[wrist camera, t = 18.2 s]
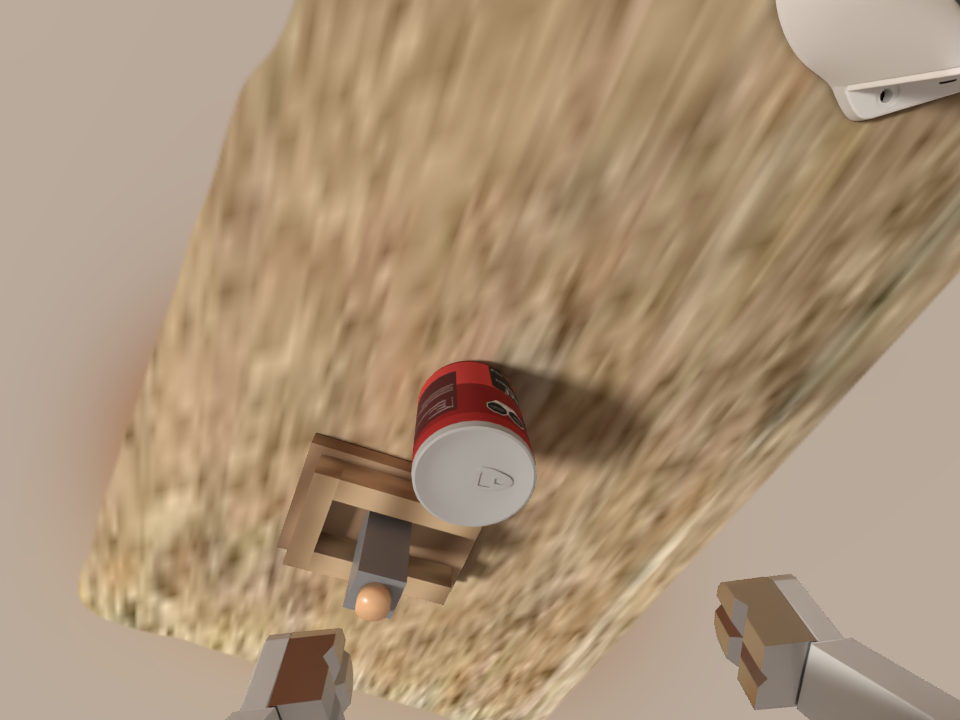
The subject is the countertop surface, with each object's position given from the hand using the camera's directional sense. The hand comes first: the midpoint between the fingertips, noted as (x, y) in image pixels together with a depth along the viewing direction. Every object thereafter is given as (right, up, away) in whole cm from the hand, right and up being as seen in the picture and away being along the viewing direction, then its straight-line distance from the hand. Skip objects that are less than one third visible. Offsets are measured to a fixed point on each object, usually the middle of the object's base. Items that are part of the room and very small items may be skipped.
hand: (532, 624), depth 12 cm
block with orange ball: (-9, -8, +34) cm, 36 cm away
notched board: (-9, -8, +36) cm, 38 cm away
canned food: (-2, +2, +32) cm, 32 cm away
